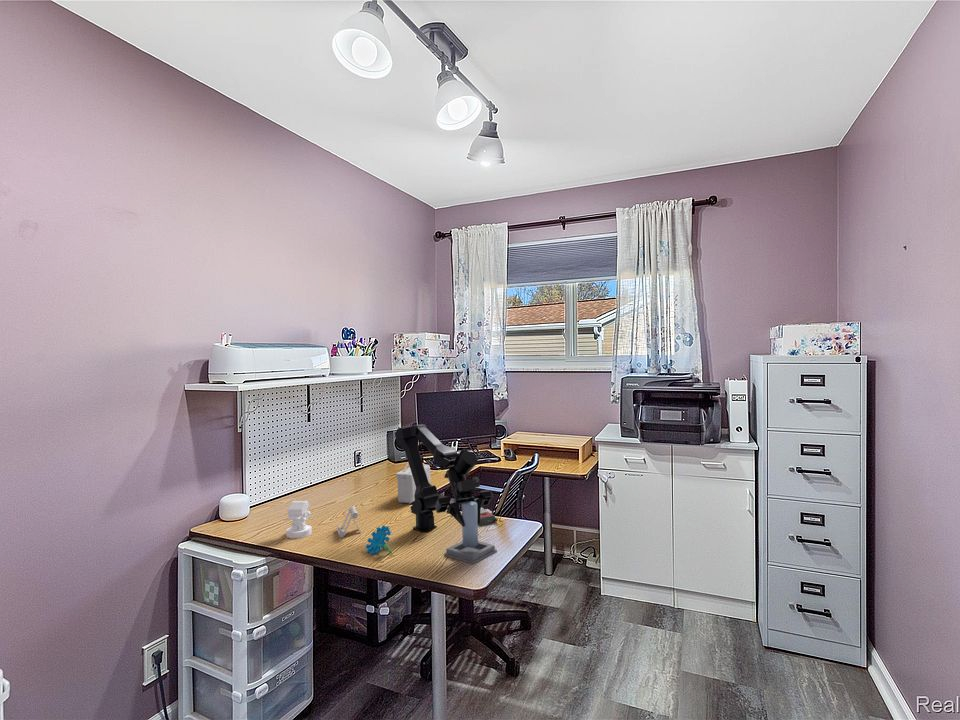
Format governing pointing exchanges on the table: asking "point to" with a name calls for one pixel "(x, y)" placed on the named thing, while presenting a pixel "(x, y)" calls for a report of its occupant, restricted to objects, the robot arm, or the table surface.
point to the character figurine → (298, 519)
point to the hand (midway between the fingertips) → (471, 524)
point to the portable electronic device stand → (353, 515)
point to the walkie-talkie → (486, 517)
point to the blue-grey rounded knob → (470, 524)
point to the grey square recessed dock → (470, 552)
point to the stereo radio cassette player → (408, 484)
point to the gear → (379, 540)
